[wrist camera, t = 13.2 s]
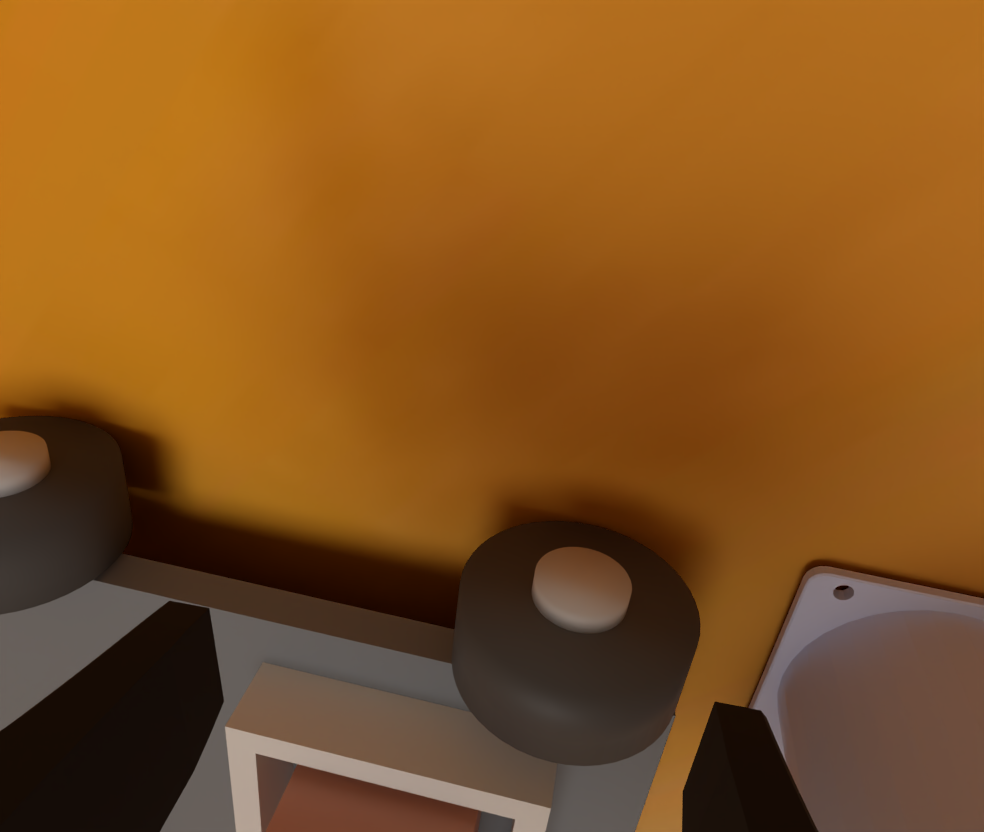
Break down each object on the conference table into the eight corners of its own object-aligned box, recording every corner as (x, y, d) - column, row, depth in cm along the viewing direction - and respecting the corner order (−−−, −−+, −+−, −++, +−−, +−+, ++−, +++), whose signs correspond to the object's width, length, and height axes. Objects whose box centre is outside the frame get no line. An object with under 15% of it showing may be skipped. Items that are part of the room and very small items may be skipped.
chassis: (701, 529, 21) (713, 706, 16) (585, 894, 30) (569, 1079, 25) (-20, 382, 23) (-212, 492, 18) (80, 761, 33) (-28, 905, 28)
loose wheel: (161, 421, 23) (16, 547, 18) (172, 501, 24) (41, 639, 19) (-19, 384, 23) (-210, 495, 18) (2, 464, 25) (-169, 587, 20)
